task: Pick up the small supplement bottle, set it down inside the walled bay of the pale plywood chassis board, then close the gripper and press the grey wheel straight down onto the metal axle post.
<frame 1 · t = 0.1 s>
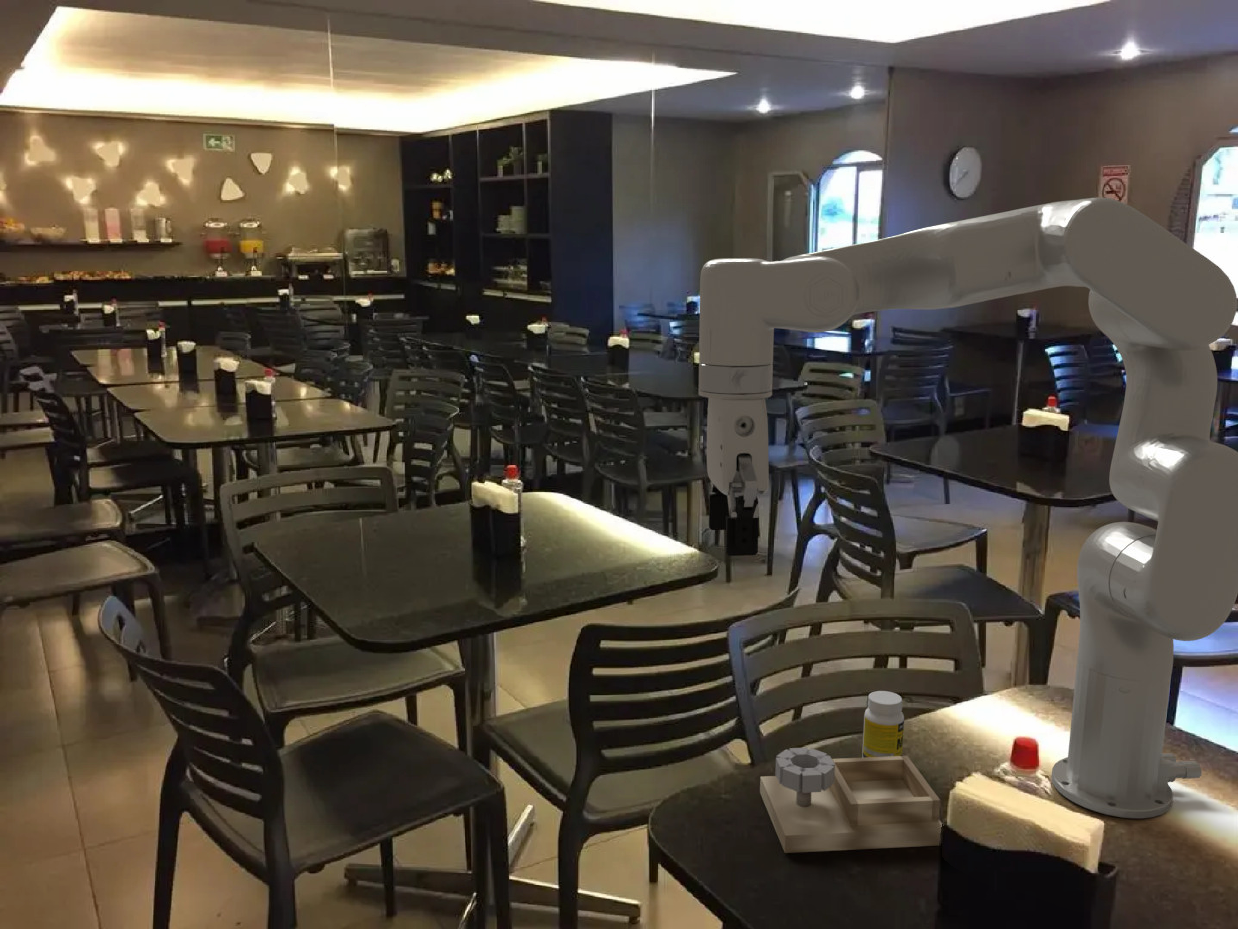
hand: (732, 541, 105), 31 cm above the table, tool pointing down, fingers open, 9 cm apart
wheel: (804, 769, 108), point 6 cm above the table, slide at 0.0 cm
supplement bottle: (881, 762, 122), on the table
chassis: (847, 817, 109), on the table
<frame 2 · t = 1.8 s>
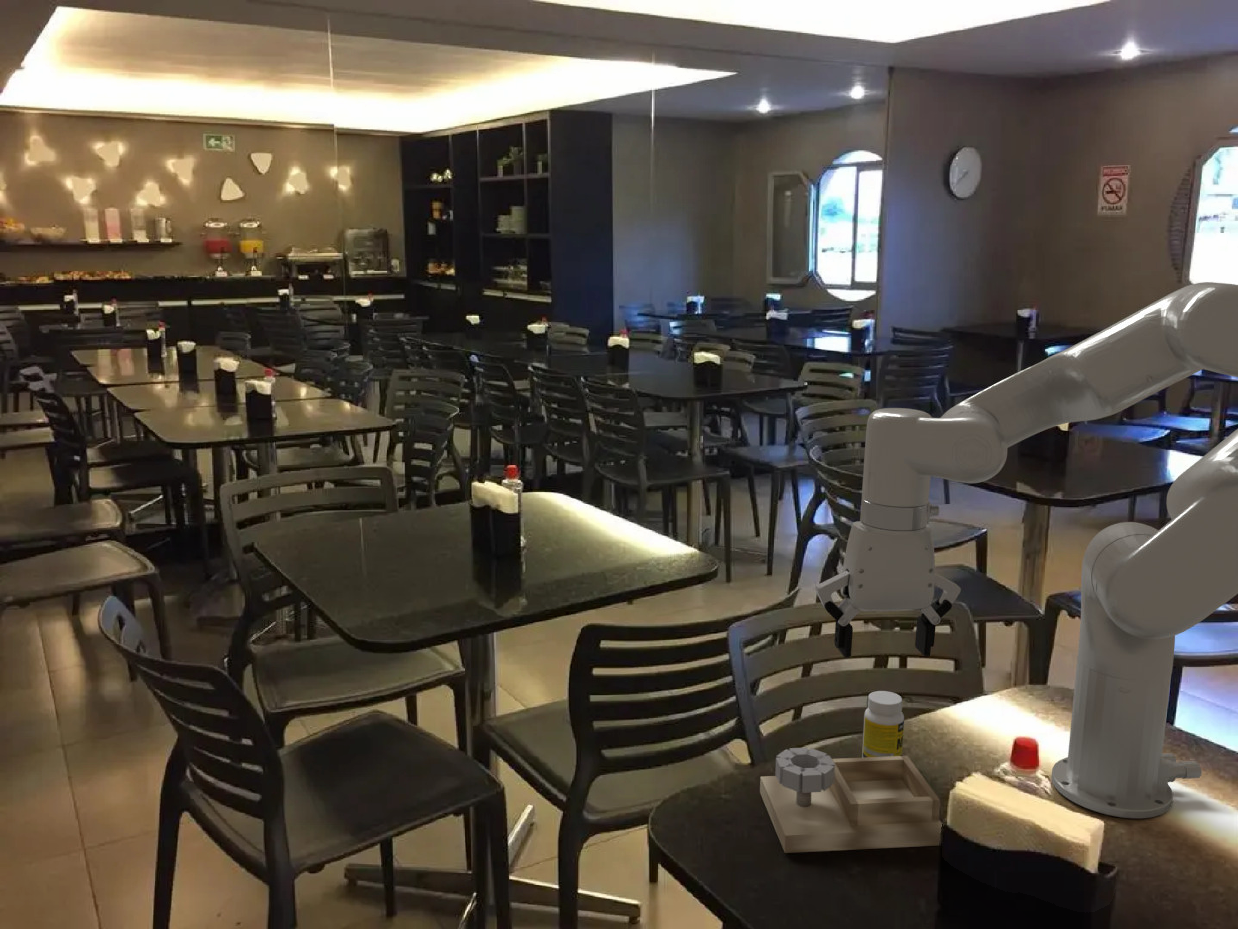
hand: (883, 652, 119), 14 cm above the table, tool pointing down, fingers open, 9 cm apart
nothing on the table moved.
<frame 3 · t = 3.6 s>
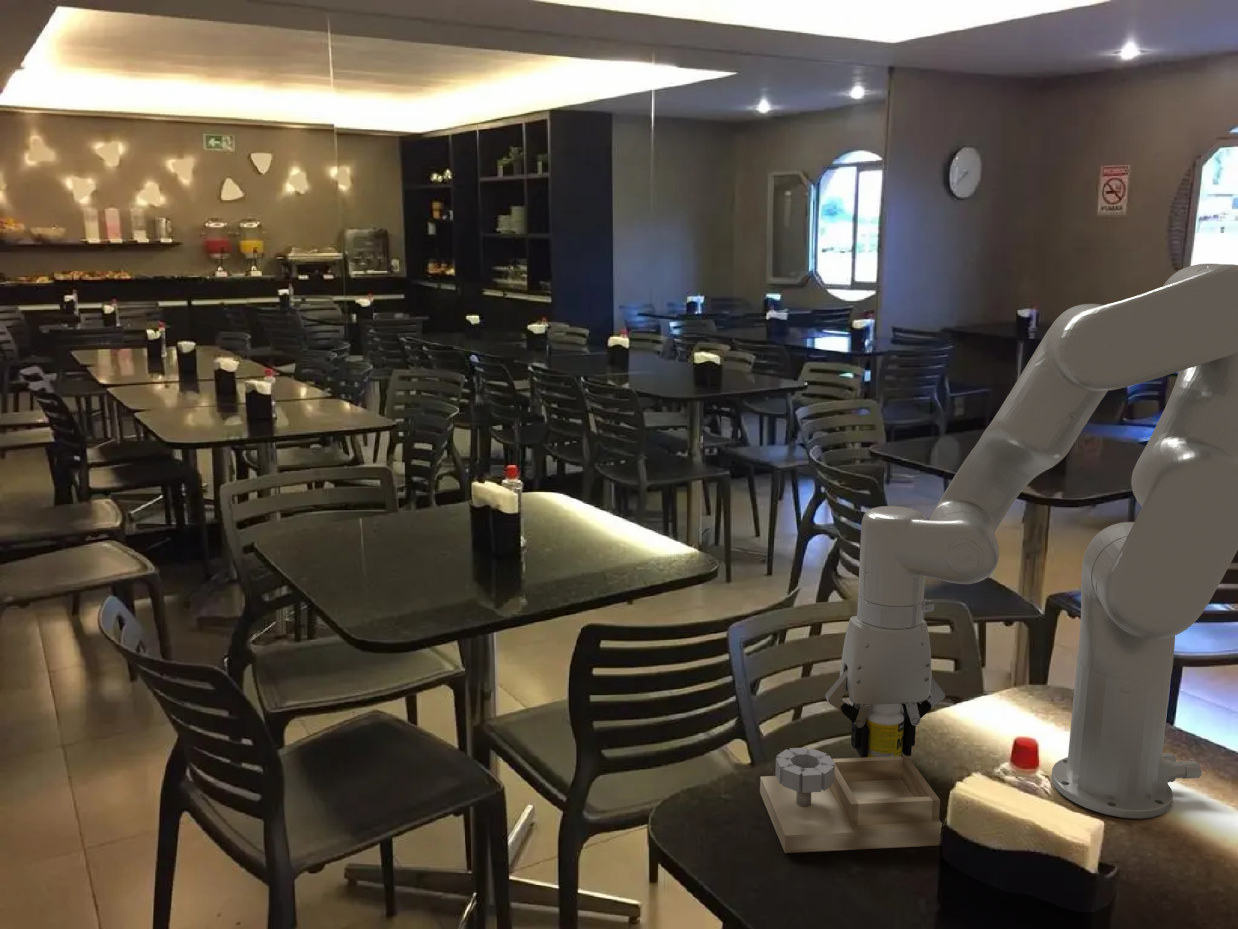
hand: (882, 750, 121), 1 cm above the table, tool pointing down, fingers closed on supplement bottle, 4 cm apart
supplement bottle: (881, 762, 122), on the table, touching gripper
everything else where it was.
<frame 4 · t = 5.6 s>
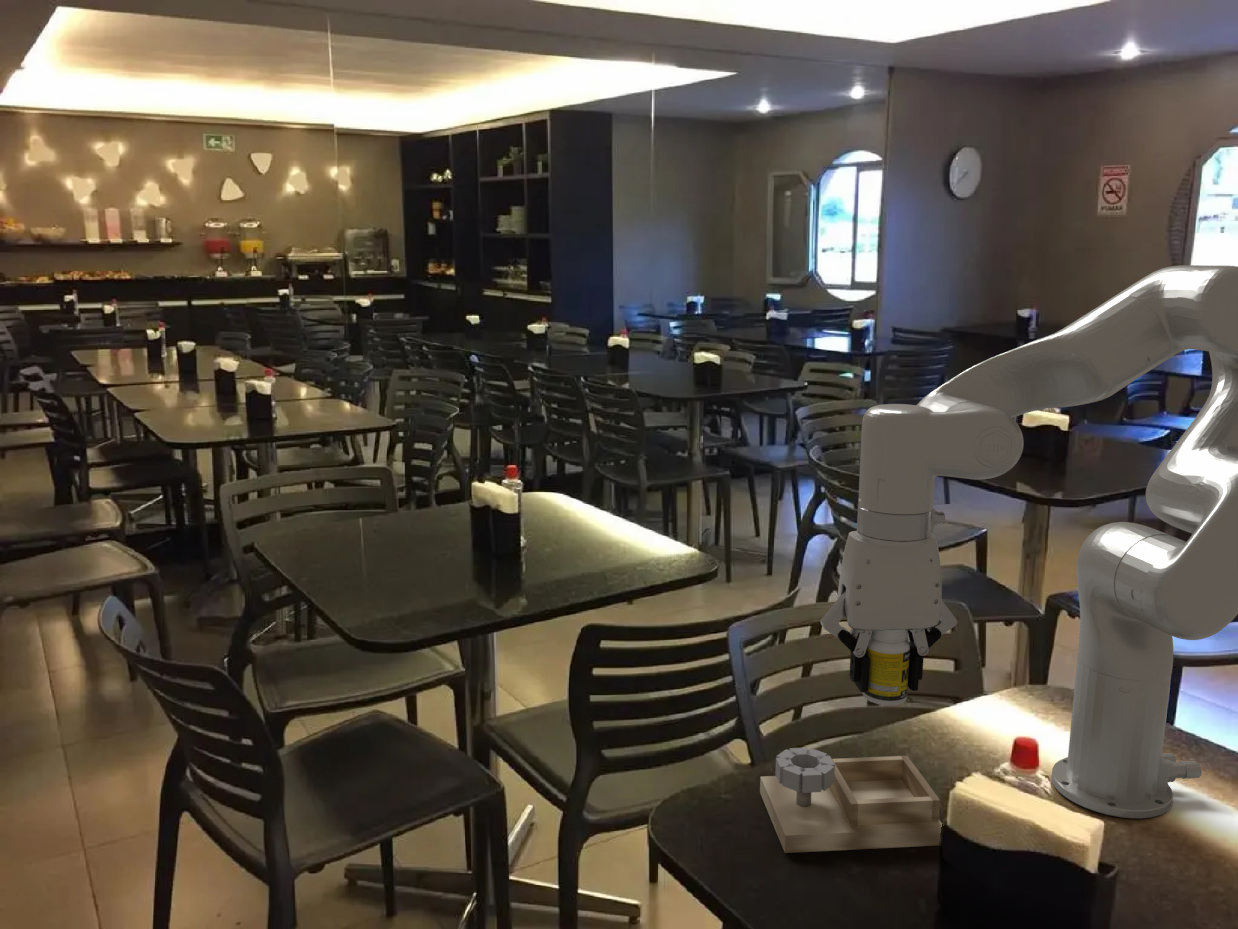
hand: (885, 684, 107), 15 cm above the table, tool pointing down, fingers closed on supplement bottle, 4 cm apart
supplement bottle: (884, 698, 107), point 14 cm above the table, touching gripper
everything else where it was.
when the fingers open (5 cm above the table, at t = 8.0 s): supplement bottle drops 1 cm, resting on chassis.
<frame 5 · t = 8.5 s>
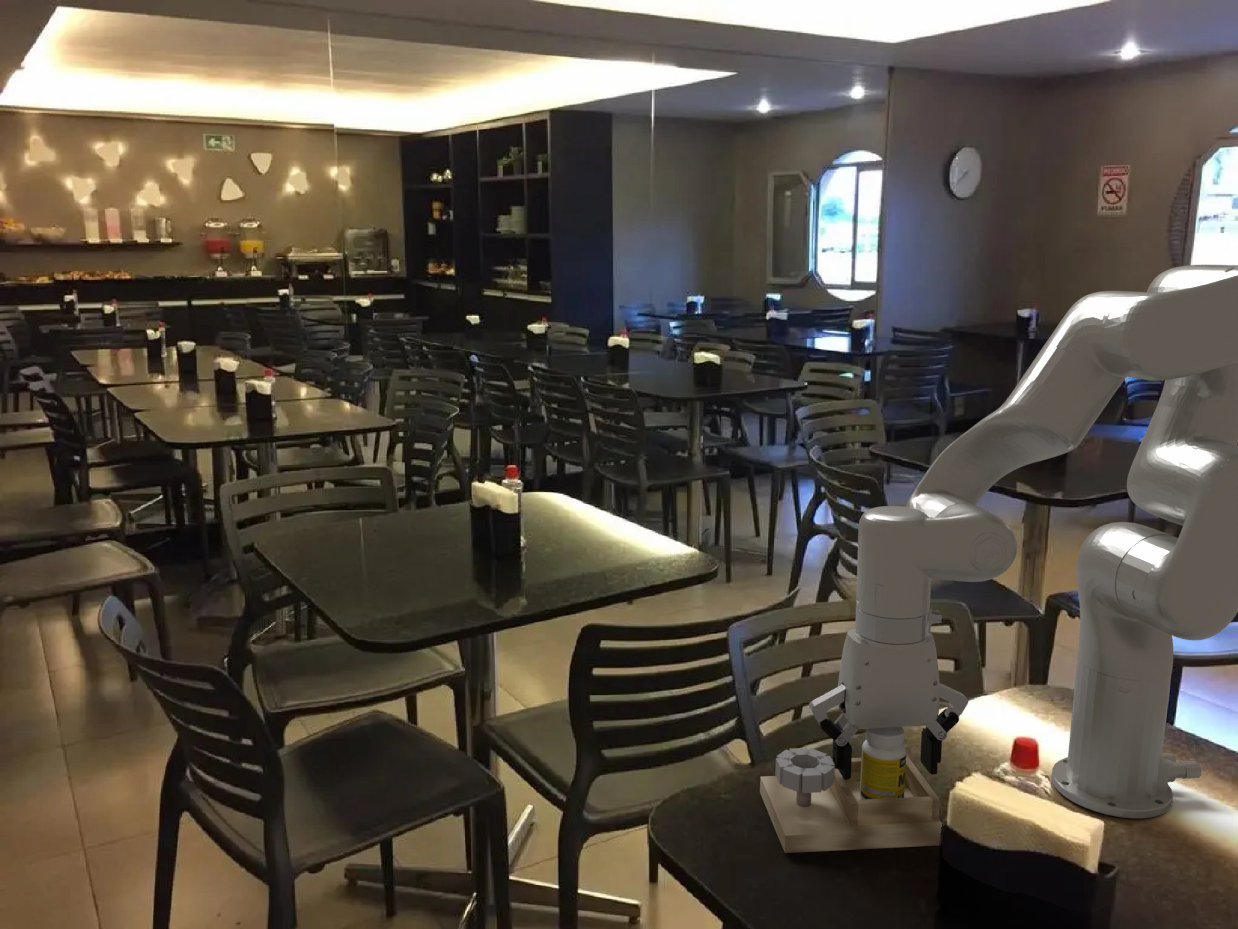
hand: (886, 771, 109), 5 cm above the table, tool pointing down, fingers open, 9 cm apart
wheel: (804, 770, 108), point 6 cm above the table, slide at 0.0 cm, touching gripper
supplement bottle: (881, 801, 109), point 2 cm above the table, touching chassis
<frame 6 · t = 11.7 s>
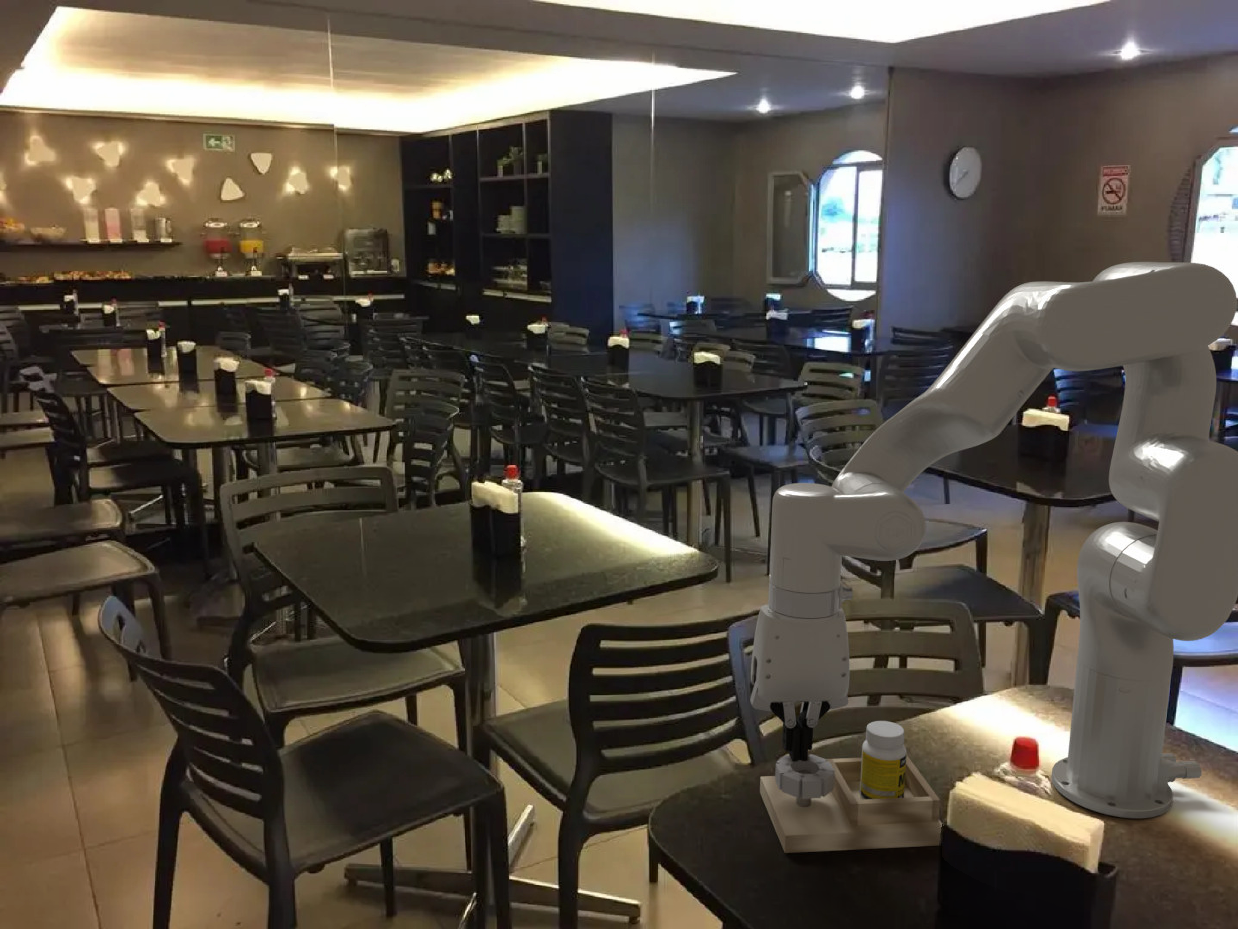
hand: (796, 755, 110), 6 cm above the table, tool pointing down, fingers closed
wheel: (804, 775, 108), point 5 cm above the table, slide at 0.7 cm, touching gripper
everything else where it was.
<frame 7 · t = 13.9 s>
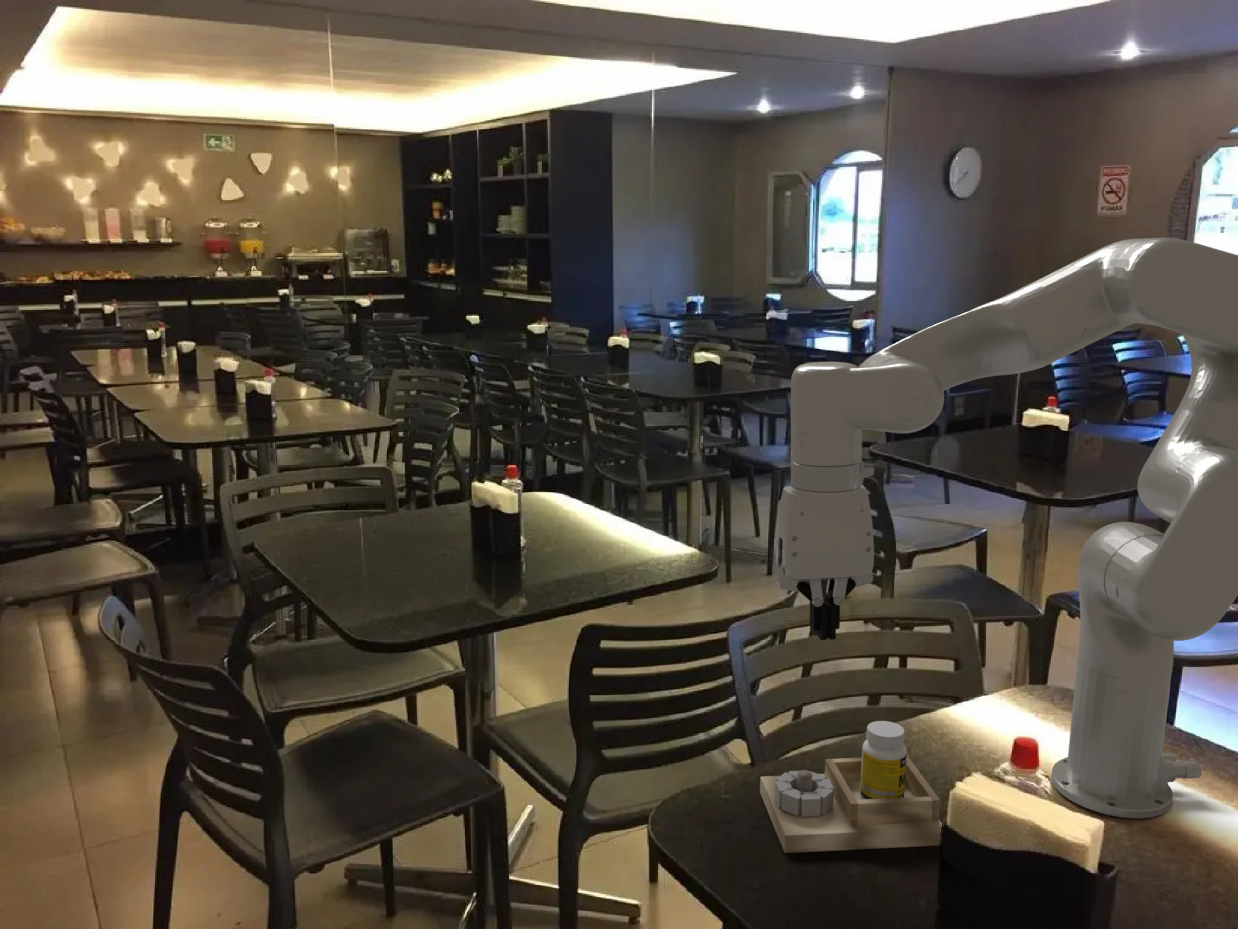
hand: (824, 635, 111), 19 cm above the table, tool pointing down, fingers closed
wheel: (804, 793, 108), point 3 cm above the table, slide at 2.8 cm
everything else where it was.
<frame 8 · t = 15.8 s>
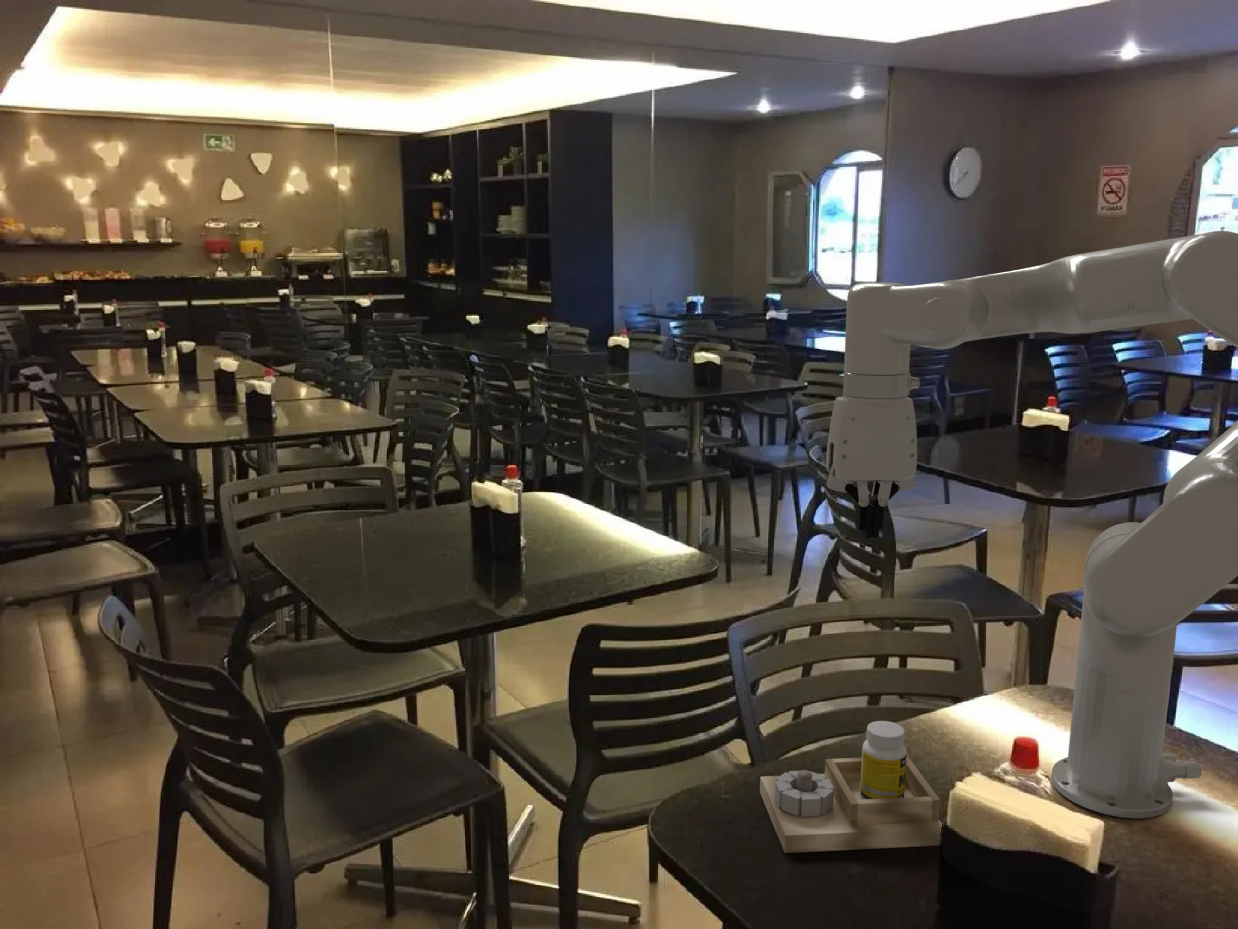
hand: (868, 535, 122), 27 cm above the table, tool pointing down, fingers closed
nothing on the table moved.
at the end: supplement bottle 0.3 cm from the target spot on the chassis, point 1.8 cm above the chassis's base; supplement bottle tilted 0°; wheel slide at 2.8 cm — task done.
